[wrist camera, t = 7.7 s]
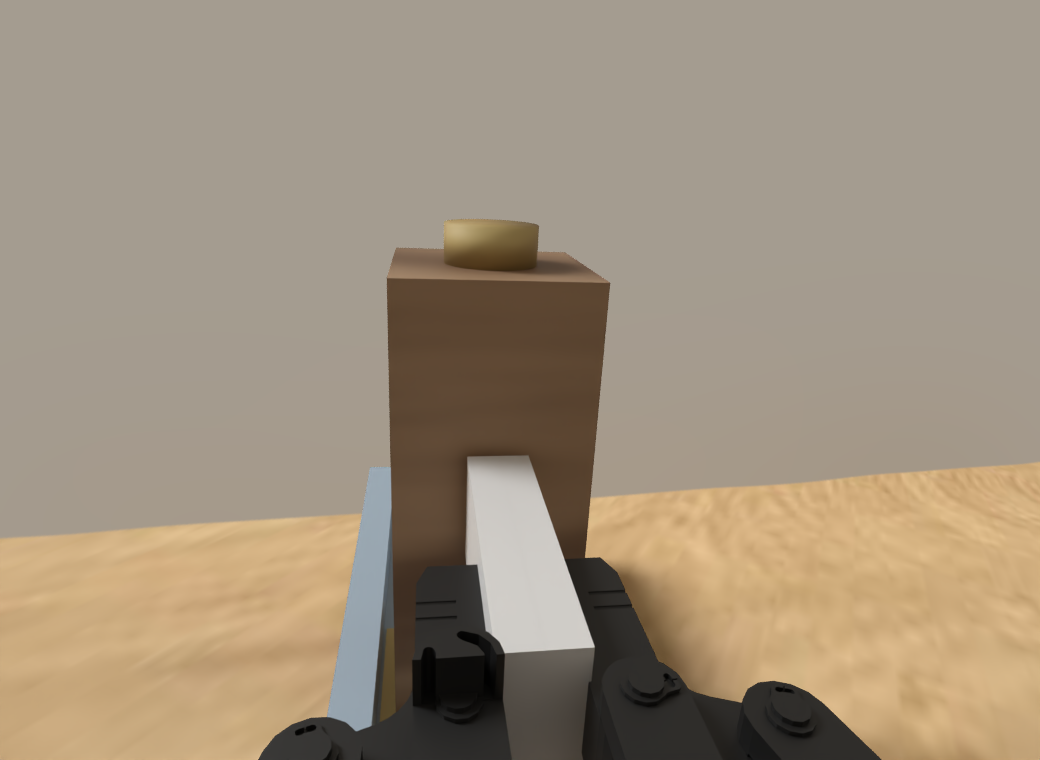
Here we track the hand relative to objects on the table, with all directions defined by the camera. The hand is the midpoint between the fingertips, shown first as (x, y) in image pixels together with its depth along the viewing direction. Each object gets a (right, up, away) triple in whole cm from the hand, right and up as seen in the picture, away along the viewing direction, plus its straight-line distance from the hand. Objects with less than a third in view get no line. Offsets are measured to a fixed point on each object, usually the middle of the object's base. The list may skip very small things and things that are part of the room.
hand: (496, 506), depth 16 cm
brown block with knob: (-1, -6, +5) cm, 8 cm away
